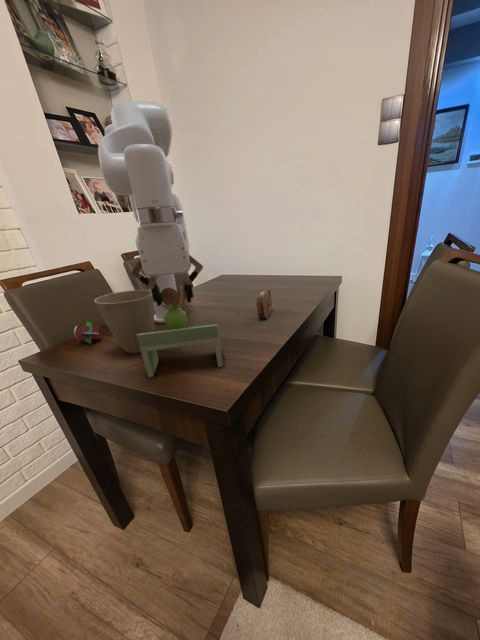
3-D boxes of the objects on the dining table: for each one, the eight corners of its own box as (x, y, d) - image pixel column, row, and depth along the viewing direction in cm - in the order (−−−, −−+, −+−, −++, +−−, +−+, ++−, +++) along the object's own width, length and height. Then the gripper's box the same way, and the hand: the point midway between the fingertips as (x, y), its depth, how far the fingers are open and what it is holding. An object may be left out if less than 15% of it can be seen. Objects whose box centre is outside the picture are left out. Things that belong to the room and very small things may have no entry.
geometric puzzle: (100, 328, 96) (79, 314, 90) (110, 331, 92) (89, 317, 86) (87, 345, 94) (65, 333, 88) (97, 349, 90) (74, 336, 84)
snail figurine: (190, 333, 66) (180, 282, 61) (163, 334, 66) (151, 284, 61) (195, 325, 71) (186, 277, 66) (170, 326, 71) (159, 279, 66)
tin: (265, 321, 98) (263, 297, 95) (256, 321, 99) (254, 298, 95) (272, 308, 111) (271, 287, 108) (264, 308, 112) (263, 287, 108)
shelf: (154, 360, 76) (144, 322, 71) (220, 351, 78) (215, 314, 73) (148, 377, 68) (136, 335, 63) (222, 366, 70) (217, 325, 65)
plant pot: (160, 355, 78) (146, 299, 71) (104, 362, 76) (85, 306, 70) (167, 335, 92) (157, 287, 85) (120, 341, 90) (105, 292, 83)
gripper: (200, 215, 63) (211, 295, 70) (118, 221, 60) (139, 302, 68) (199, 215, 56) (212, 302, 64) (108, 221, 54) (132, 311, 61)
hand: (174, 302), depth 66 cm, fingers closed on snail figurine, 6 cm apart
